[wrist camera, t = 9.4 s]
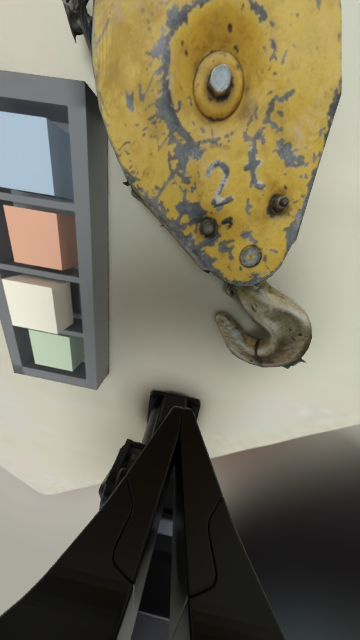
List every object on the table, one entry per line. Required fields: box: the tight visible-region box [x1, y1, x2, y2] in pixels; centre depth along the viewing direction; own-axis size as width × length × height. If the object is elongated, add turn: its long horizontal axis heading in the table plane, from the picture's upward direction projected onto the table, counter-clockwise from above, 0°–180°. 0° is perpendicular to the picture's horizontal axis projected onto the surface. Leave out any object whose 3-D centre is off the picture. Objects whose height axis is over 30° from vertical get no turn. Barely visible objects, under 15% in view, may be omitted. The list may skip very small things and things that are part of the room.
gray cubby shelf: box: [0, 70, 109, 390], centre depth 19 cm, size 25×10×3 cm, turn 171°
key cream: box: [2, 274, 74, 334], centre depth 18 cm, size 4×4×2 cm
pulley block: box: [62, 0, 342, 369], centre depth 14 cm, size 14×6×30 cm
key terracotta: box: [3, 205, 78, 270], centre depth 17 cm, size 4×4×2 cm
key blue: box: [0, 111, 74, 201], centre depth 15 cm, size 4×4×2 cm
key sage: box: [28, 329, 85, 371], centre depth 22 cm, size 4×4×2 cm
